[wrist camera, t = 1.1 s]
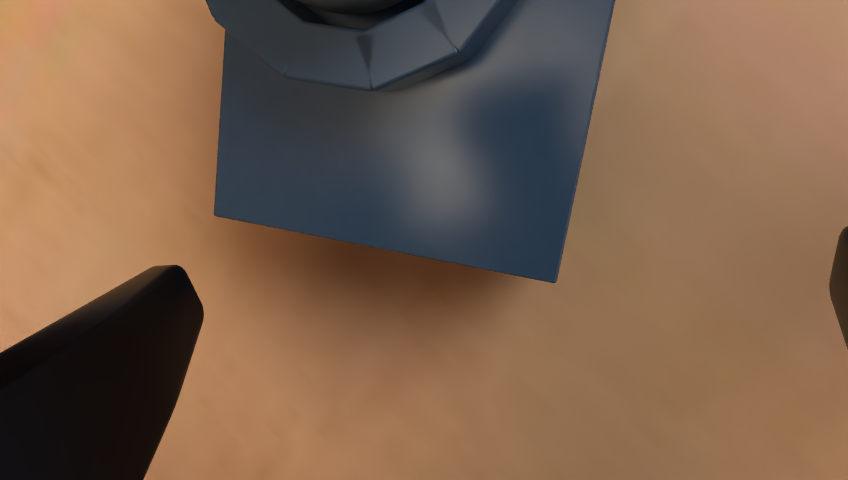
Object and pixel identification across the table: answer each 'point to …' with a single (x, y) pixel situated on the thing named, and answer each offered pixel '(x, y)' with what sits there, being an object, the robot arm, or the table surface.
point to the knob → (351, 5)
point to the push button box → (411, 124)
